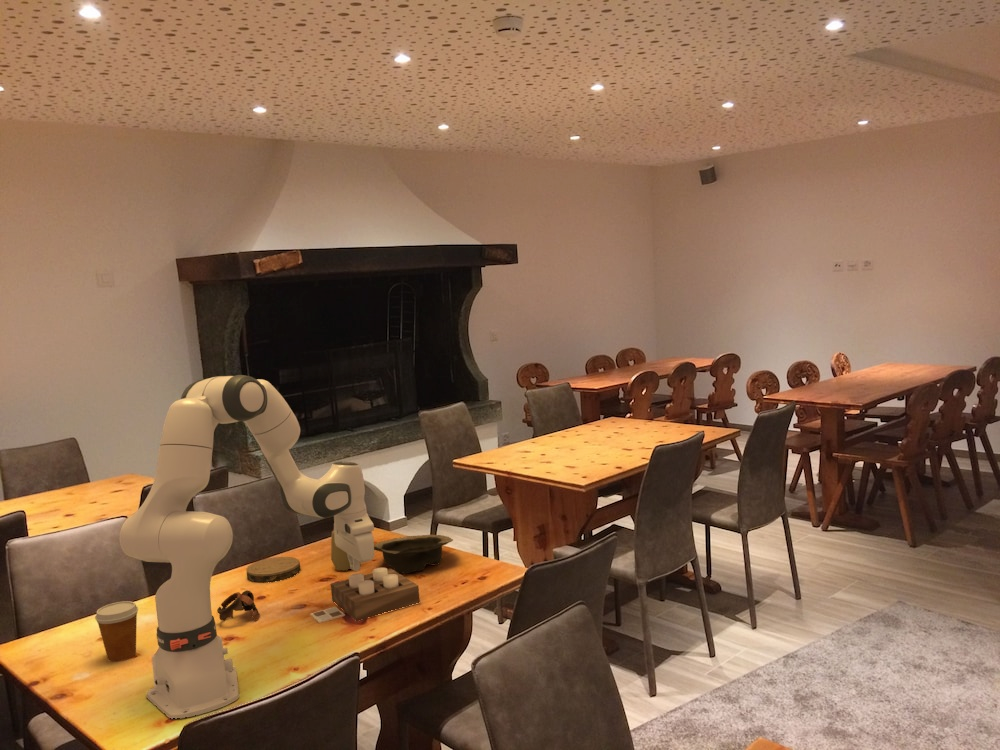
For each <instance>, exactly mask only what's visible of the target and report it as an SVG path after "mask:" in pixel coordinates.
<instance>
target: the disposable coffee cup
mask: <svg viewBox="0 0 1000 750" xmlns="http://www.w3.org/2000/svg"><path fill="white" fill-rule="evenodd" d="M138 611H139V607H138V606H137V604H136V602H134V601H130V600H129V601H128V600H126V601H117V602H113V603H108V604H106V605H103V606H101V607H100V608H98V609H97V610H96V614H95V617H94V619H95V621H96V623H97V624H98V628H99V631H100V637H101V638H102V639H101V640H102V643H103V646H104V649H105V654H106V657H107V660H108V661H109V660H110V662H121V661H124V660H129V659H130V658H132V657H133V656H135V655H136V654H137V621H138V619H137V615H138Z"/></svg>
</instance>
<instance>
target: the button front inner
mask: <svg viewBox="0 0 1000 750" xmlns="http://www.w3.org/2000/svg"><path fill="white" fill-rule="evenodd" d="M358 585H359V595H360V596H365V595H368V594H372V593H375V592H374V582H373V581H371V580H365V581H361V582H359V583H358Z"/></svg>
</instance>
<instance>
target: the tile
mask: <svg viewBox="0 0 1000 750" xmlns="http://www.w3.org/2000/svg"><path fill="white" fill-rule="evenodd" d="M310 616H311V618H313V619H314V620H315V621H316V622H318V624H321V623H324V622H325V623H326V622H328V621H331V620H336V619H338V618H339V617H340V618H342V616H343V617H346V614H345V612H344V611H341V610H340V609H339V608H338V606H337V607H336V606H333V607H329V608H326V609H323V610H318V611H314V612H311V613H310ZM340 618H339V619H340Z"/></svg>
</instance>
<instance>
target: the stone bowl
mask: <svg viewBox="0 0 1000 750" xmlns="http://www.w3.org/2000/svg"><path fill="white" fill-rule="evenodd" d="M453 541H454V539H452V538H451V537H449V536H448V535H443V534H422V535H407V536H404V537H403V536H402V537H395V538H394V537H393V538H390V539H387V540H382V541H379V542H376V543H374V551H377V552H381V553H382V557H383V560H384V562H385V563H386V564H387V566H390V567H392V569H393V570H394V571H396V572H397V573H401V574H404V573H407V574H411V573H413V572H420V571H423V570H425V569H426V565H430V564H437V565H439V564H441V560H442V554H443V546H446V545H448V544H449V543H451V542H453ZM438 563H439V564H438Z"/></svg>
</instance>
